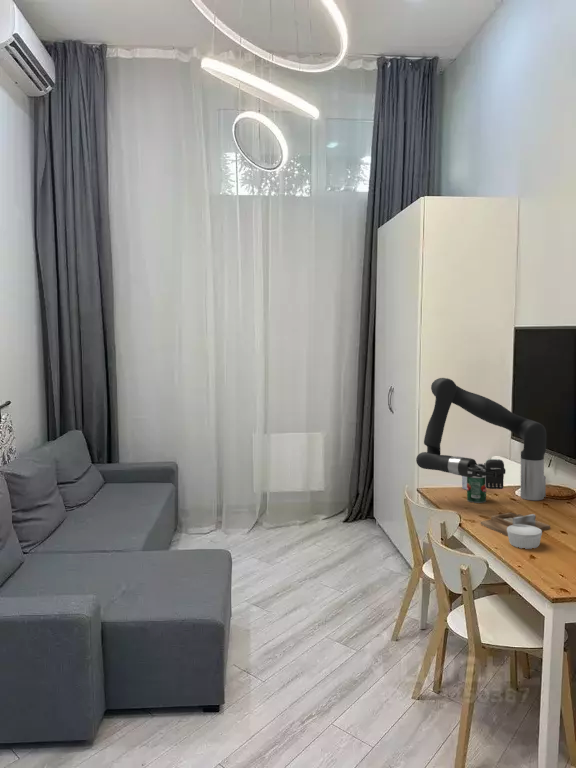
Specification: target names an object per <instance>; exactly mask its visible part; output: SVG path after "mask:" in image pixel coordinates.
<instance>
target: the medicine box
mask: <svg viewBox="0 0 576 768" xmlns="http://www.w3.org/2000/svg"><path fill="white" fill-rule="evenodd" d="M461 484H462V487H461V488H462V489H463V490H466V491H467V477H465V476H461Z"/></svg>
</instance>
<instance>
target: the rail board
mask: <svg viewBox="0 0 576 768" xmlns="http://www.w3.org/2000/svg"><path fill="white" fill-rule="evenodd" d="M480 524H482V525H481V526H483V525H484V526H483V527H485V526H486V528H487V527H488V528H487V529H490V530H492V531H494V532H497V533H499V534H501V533H502V535H504V536H506V537H508V532H507V527H508V526H511V525H529V526H534V527H537V528H539V529H541V530H542V531H545V530H551V525H550V524H548V523H545V522H542V521H539V520H536V514H534V513H531V514H527V515H523V514H522V513H521V514H516V513H514V512H506V513H499V514H493V515H491V516H490V519H487V520H481V521H480Z"/></svg>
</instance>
